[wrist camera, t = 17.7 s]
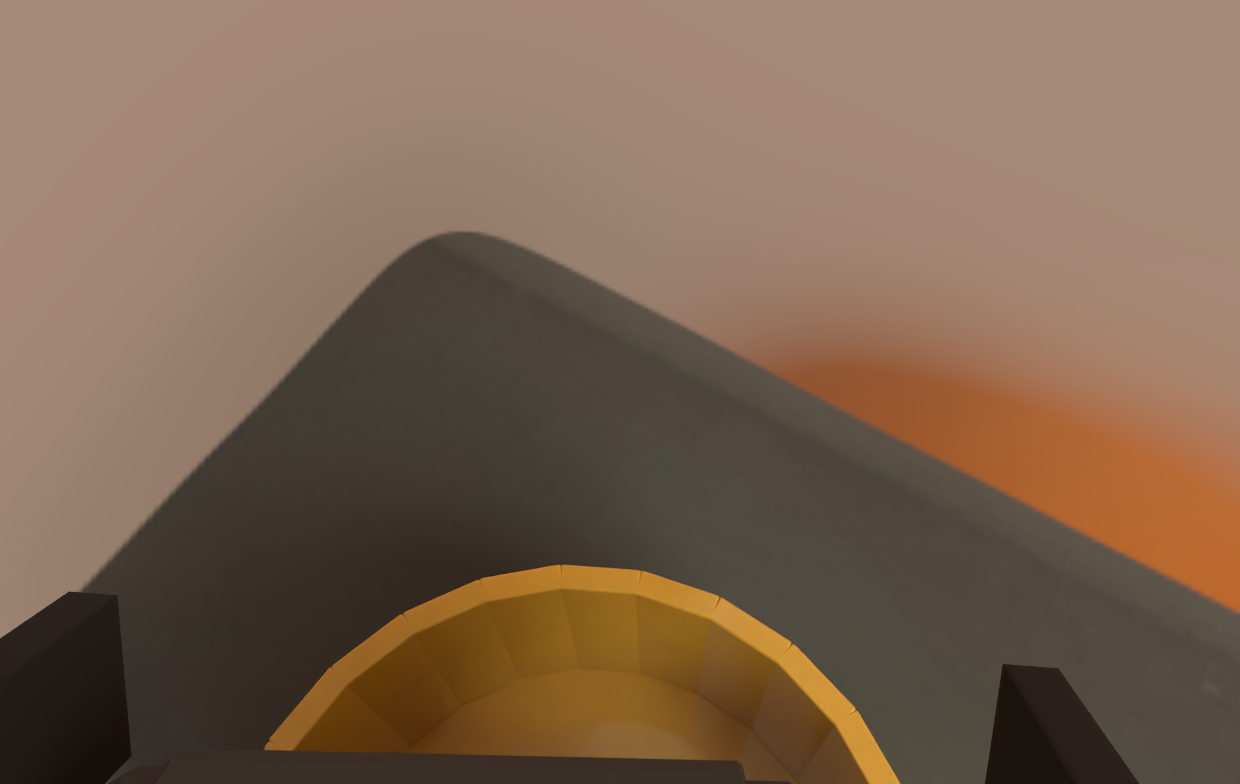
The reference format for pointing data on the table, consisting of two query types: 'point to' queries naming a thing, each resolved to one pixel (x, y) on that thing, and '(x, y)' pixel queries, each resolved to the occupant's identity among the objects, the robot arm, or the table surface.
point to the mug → (588, 682)
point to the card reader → (426, 769)
